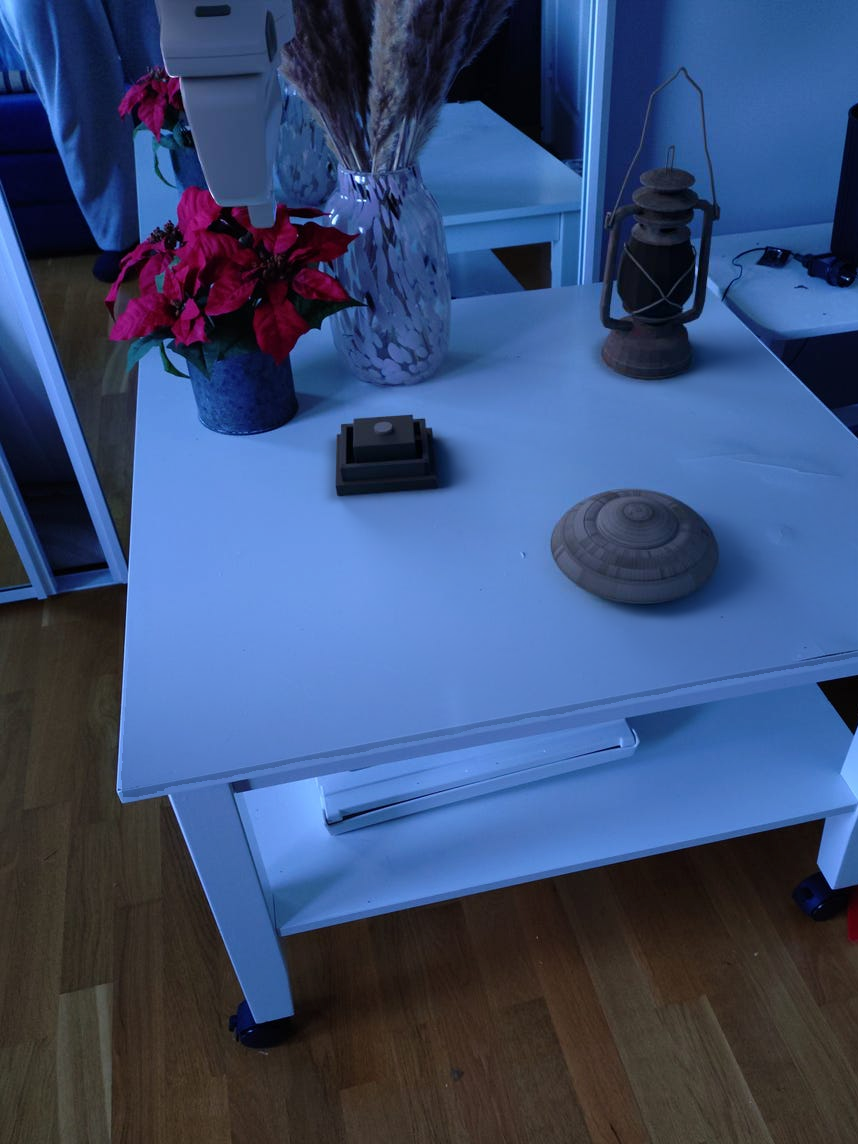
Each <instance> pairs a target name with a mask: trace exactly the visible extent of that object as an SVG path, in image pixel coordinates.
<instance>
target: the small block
mask: <svg viewBox="0 0 858 1144" xmlns="http://www.w3.org/2000/svg"><path fill="white" fill-rule="evenodd" d="M413 419H414V415H413V414H402V415H401V414H400V415H399V414H398V415H388V416H387V415H386V416H373V417H358V418H353V422H352V423H353V447H354V454H355V461H356V464H358V463H371V462H385V461H399V460H413V459H416V448H415V435H414V423H413Z"/></svg>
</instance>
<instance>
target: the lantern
mask: <svg viewBox="0 0 858 1144" xmlns="http://www.w3.org/2000/svg"><path fill="white" fill-rule="evenodd" d="M681 71H682V72H683V75H684V78H685V79H686V80H687V81H688V83H690V84H691V85H692V86H693V87H694V89H696V91H697V92H698V94H699V103H700V115H701V128H702V137H703V138H702V139H703V150H704V154H705V157H706V161H707V165H708V169H709V178H710V184H711V185H710V186H711V194H712V201H713V202H712V203H711V202H709V201H708V200H707V199H705V198H703V199H702V198H699V195H698V192H696V191H694V190H693V189H692V188H691V187H693V186H694V185H695V183H696V181H697V180H696V178H695V176H694V175H693V174H692V173H691V172H688V171H687V170H684V169H681V168H678V167H677V168H675V167H674V160H675V150H676V146H675V145H674V144H673V145H670V146H669V147H668V148H667V150H666V158H665V166H664V167H656V168H652V169H649V170H647V171H645V172H642V174H641V175H639V181H640V183H641V184H642V185H643V186H641V187H638V188H636V189H635V191H634V192H633V193H632V196H631V197H632V201H633V202H634V203H630V204H626V205H622V206H620V207H619V205H620V203H621V199H622V196H623V194H624V191H625V189H626V186H627V183H628V181H629V178H630V175H631V172H632V170H633V168H634V166H635V164H636V162H637V160H638V158H639V156H640V154H641V151H642V149H643V146H644V142H645V137H646V132H647V127H648V122H649V119H650V113H651V110H652V104H653V99H654V97H655V95H657V94H658V93H659V92H660V91H661V90H663V89H664V88H665V87H666V86H667V85H668V84H670V83H671V82H673V80H675V79H676V78H677V77H678V75H679V73H680V72H681ZM703 93H704V92H703V90H702V89H701V87H699V85H698V84H697V83H696V82H695V81H694V80H693V79H692V77H690V76H689V74H688V70H687V69H686V68H685V66H681V67H678V68H677V70H676V72H675V73H674V75H672V76H671V77H670V78H669V79H667V80H666V81H665V82H664V83H662V85H660V86H659V87H658V88H656V89H655V90H654V91H653V92H652V93H651V95H650V98H649V101H648V106H647V111H646V115H645V121H644V124H643V130H642V135H641V139H640V143H639V148H638V150H637V152H636V154H635V156H634V158H633V159H632V162H631V165H630V167H629V169H628V171H627V174H626V176H625V179H624V181H623V184H622V187H621V189H620V193H619V195H618V198H617V201H616V203H615V207H614V209H613V211H612V212H611V211H607V212H606V215H605V219H604V229H605V230H606V231H609V238H608V244H607V253H606V259H605V265H604V266H605V267H604V273H603V281H602V288H601V295H600V301H599V320H600V322H601V325H602V326H603V328H605V329H608V330H610V332H609V334H608V336H607V337H606V338H605V339H604V342H603V346H602V348H601V350H600V351H601V352H600V357H601V360H602V362H603V364H605V366H606V367H608V368H609V369H610V370H611V371H613V372H615V373H617V374H620V375H621V376H625V377H628V378H633V379H638V380H662V379H666V378H667V379H668V378H672V377H675V376H677V375H680V374H682V373H683V372H685V371H687V370H688V369H689V367H690V366H691V365H692V362H693V353H692V348H693V347H692V345H691V342H690V341H689V332H688V328H687V327H686V326H685V324H689V323H692V322H694V321H696V320H699V318H700V317H701V315H702V313H703V311H704V307H705V303H706V297H707V288H708V276H709V266H710V256H711V246H712V236H713V226H714V222H716V221H719V220H720V219H721V207H720V206H719V204H718V202H717V197H716V189H715V180H714V173H713V172H714V171H713V165H712V161H711V158H710V154H709V150H708V145H707V143H708V142H707V131H706V120H705V107H704V95H703ZM670 150H672V152H671V159H670V160H671V161H670V167H668V165H669V156H670ZM694 210H700V211H702V212H703V213H702V214H703V215H702V216H703V217H702V227H701V228H702V229H701V236H700V246H699V255H697V254H698V252H697V250H696V246H694V244H692V242H691V236H692V231H691V228H690V227H689V226H687V225H688V224H690V223H691V222H693V219H694V217H695V211H694ZM632 215H633V219H634V220H635V222H636V221H637V223H635V224H634V226H633V227H631V235H630V237H629V239H628V241H626V242H624V243H623V246H624V247H623V250H622V251H621V253H620V257H619V263H618V267H617V274H616V285H615V286H616V293H617V295H618V297H619V298H620V301H621V302H622V303H621V307H622V309H623V310H624V312H625V313H627V314H628V315H626V316H622V317H620V318H619V319H617V318H614V317H611V306H612V298H613V297H612V296H613V290H614V283H615V282H614V281H615V273H616V266H617V257H618V250H619V243H620V235H621V228H622V223H623V220H625V219H626V218H627V217H629V216H632ZM697 256H698V262H697ZM696 263H698V264H696ZM696 265H697V266H696ZM696 267H697V273H696ZM695 280H696V281H695ZM694 286H695V289H694ZM694 290H695V291H694ZM693 293H694V298H693V302H692V307H691V308H690V309H688V310H686V311H684V312H683V310H684V305H685V304H686V303H687V302H688V300H689V299H690V297H691V296H692V295H693Z"/></svg>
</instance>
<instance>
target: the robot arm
mask: <svg viewBox="0 0 858 1144" xmlns="http://www.w3.org/2000/svg"><path fill="white" fill-rule="evenodd" d="M154 4H155V7H156V8H155V9H156V13H157V17H158V22H159V42H160V43H159V44H160V50H161V55H162V59H163V65H164V68H165V72H166V74H167V75H168V76H169V77H171V78H179V88H180V93H181V99H182V104H183V108H184V112H185V116H186V117H187V122H188V126H189V128H190V129H189V130H190V132H191V136H192V140H193V143H194V146H195V150H196V153H197V157H198V160H199V162H200V166H201V170H202V173H203V176H204V180H205V182H206V185H207V188H208V190H209V192H210V194H211V196H212V199H214V201H215V203H216V204H217V205H218V206H220V207H223V208H229V207H247V210H248V215H249V220H250V224H251V226H252V227H253V228H255V229H266V228H267V229H268V228H272V227H274V225H275V222H276V215H277V208H278V207H277V205H278V204H277V200H276V193H275V183H274V166H275V159H276V155H277V154H276V153H277V147H278V143H279V142H278V140H279V134H280V128H281V123H282V118H283V117H282V116H283V112H284V111H283V110H284V109H283V95H282V89H281V82H280V76H279V71H278V68H280V66H281V65H282V63H283V60H282V54H281V53H282V52H281V50H282V49H283V47H284V45H286V44H287V43H289V42H290V41H292V39H294V37H296V33H297V31H296V30H297V29H296V23H295V15H294V9H293V1H292V0H154Z"/></svg>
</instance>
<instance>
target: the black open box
mask: <svg viewBox="0 0 858 1144" xmlns="http://www.w3.org/2000/svg"><path fill="white" fill-rule="evenodd" d="M426 422H427V421H426V418H413V423H414V435H415V448H416V459H413V460H399V461H385V462H371V463H358V464H356V461H355V454H354V447H353V422H352V423H340V433H337V434H336V444H335V445H336V446H335V448H336V451H335V455H336V456H335V490H336V491H335V492H336V495H337V496H347V495H349V496H350V495H362V494H375V493H388V492H391V493H392V492H403V491H415V490H428V489H431V490H432V489H438V488H439V485H438V473H437V463H436V455H435V453H436V452H435V443H434V433H433V427H427V423H426Z"/></svg>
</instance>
